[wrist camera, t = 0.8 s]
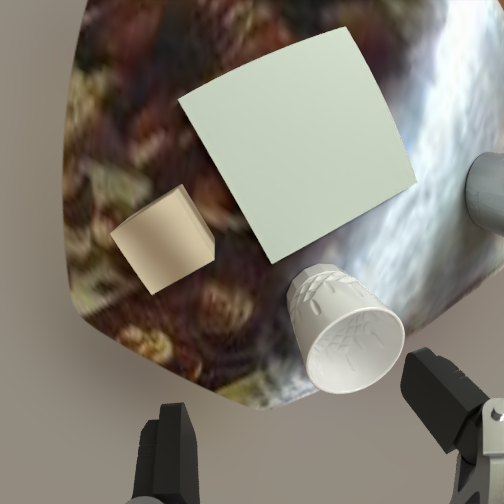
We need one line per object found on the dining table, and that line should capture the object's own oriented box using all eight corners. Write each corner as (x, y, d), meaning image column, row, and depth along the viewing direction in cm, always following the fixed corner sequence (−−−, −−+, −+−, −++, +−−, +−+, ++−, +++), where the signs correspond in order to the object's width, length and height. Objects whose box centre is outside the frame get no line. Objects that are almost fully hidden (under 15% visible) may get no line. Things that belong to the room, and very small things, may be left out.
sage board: (341, 29, 22) (345, 26, 21) (411, 180, 27) (417, 182, 26) (179, 101, 23) (177, 99, 22) (270, 260, 28) (271, 264, 28)
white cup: (276, 263, 29) (304, 320, 19) (356, 251, 29) (411, 297, 20) (283, 335, 31) (307, 404, 22) (354, 320, 32) (397, 379, 22)
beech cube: (182, 183, 26) (173, 193, 20) (214, 238, 27) (214, 259, 22) (129, 216, 26) (109, 233, 21) (162, 267, 28) (151, 294, 23)
